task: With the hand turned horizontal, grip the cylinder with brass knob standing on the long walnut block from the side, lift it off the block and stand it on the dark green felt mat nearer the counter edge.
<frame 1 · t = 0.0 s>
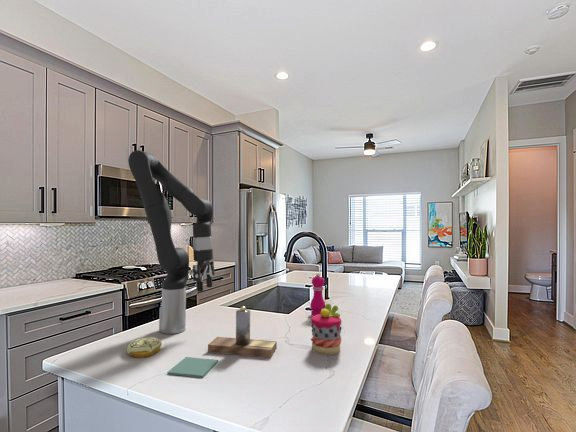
hand: (205, 289, 131), 17 cm above the worktop, tool pointing down, fingers open, 8 cm apart
cylinder with brass knob: (242, 343, 113), point 2 cm above the worktop, touching plane body
decorated donut: (144, 353, 111), on the worktop
pepper mill: (317, 315, 157), on the worktop
felt mat: (193, 367, 99), on the worktop
cake: (326, 349, 115), on the worktop
plane body: (242, 350, 113), on the worktop
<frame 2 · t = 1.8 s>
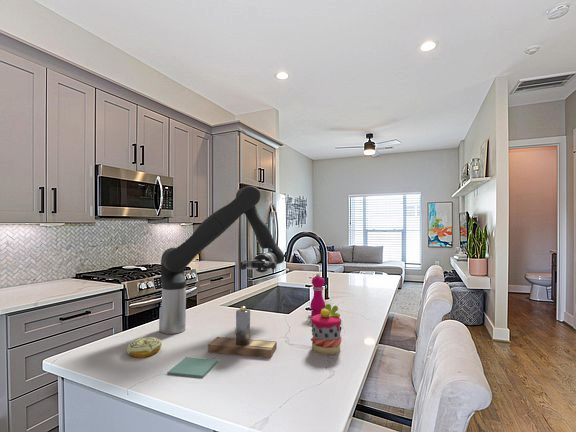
hand: (253, 267, 125), 27 cm above the worktop, tool horizontal, fingers open, 8 cm apart
nothing on the worktop moved.
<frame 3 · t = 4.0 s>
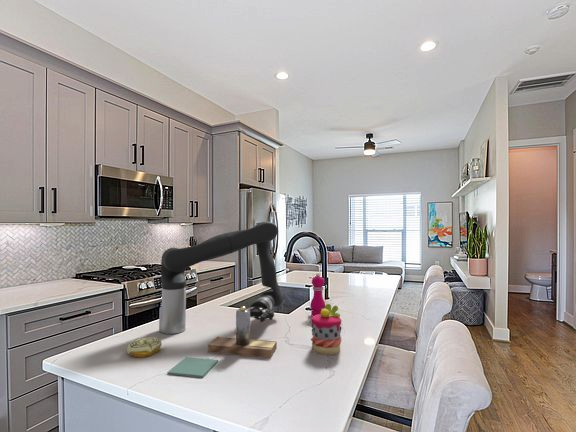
hand: (250, 318, 121), 9 cm above the worktop, tool horizontal, fingers open, 8 cm apart
nothing on the worktop moved.
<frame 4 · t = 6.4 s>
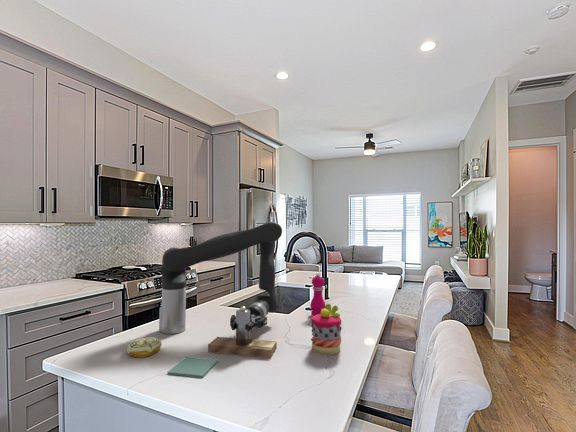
hand: (240, 327, 111), 9 cm above the worktop, tool horizontal, fingers closed on cylinder with brass knob, 4 cm apart
cylinder with brass knob: (242, 343, 113), point 2 cm above the worktop, touching gripper, plane body
everything else where it was.
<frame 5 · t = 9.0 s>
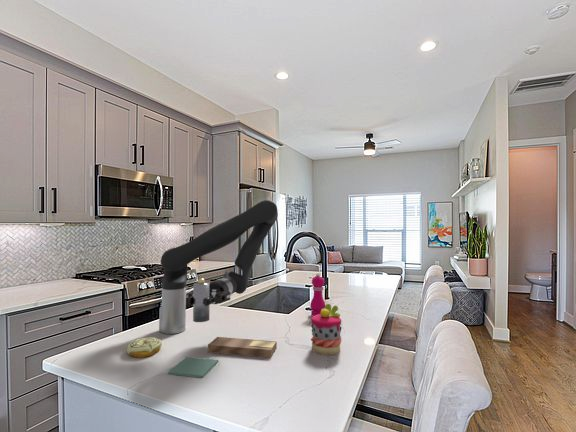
hand: (197, 302, 98), 20 cm above the worktop, tool horizontal, fingers closed on cylinder with brass knob, 4 cm apart
cylinder with brass knob: (201, 319, 100), point 14 cm above the worktop, touching gripper
everything else where it was.
when the fingers open (8 cm above the worktop, at t = 12.0 s): cylinder with brass knob drops 1 cm, resting on felt mat.
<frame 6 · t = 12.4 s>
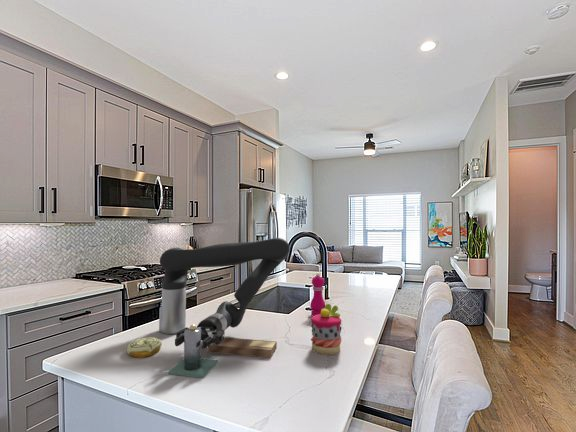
hand: (189, 344, 97), 8 cm above the worktop, tool horizontal, fingers open, 8 cm apart
cylinder with brass knob: (192, 367, 98), point 1 cm above the worktop, touching felt mat
everything else where it was.
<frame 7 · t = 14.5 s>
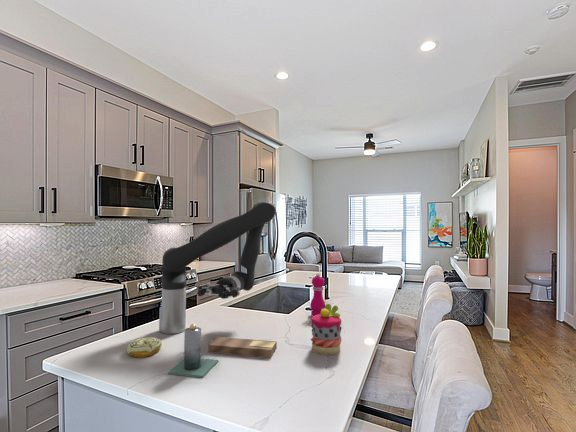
hand: (210, 294, 112), 19 cm above the worktop, tool horizontal, fingers open, 8 cm apart
nothing on the worktop moved.
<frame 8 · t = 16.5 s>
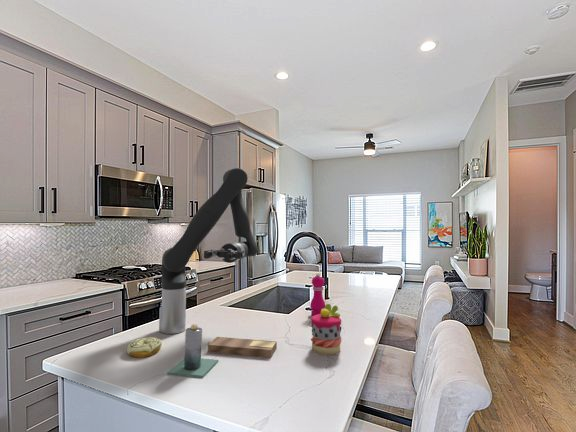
hand: (216, 256, 116), 32 cm above the worktop, tool horizontal, fingers open, 8 cm apart
nothing on the worktop moved.
at the end: cylinder with brass knob inside the target area on the felt mat (1.0 cm from its centre), point 0.7 cm above the felt mat's base; cylinder with brass knob tilted 2°; the gripper is holding nothing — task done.
